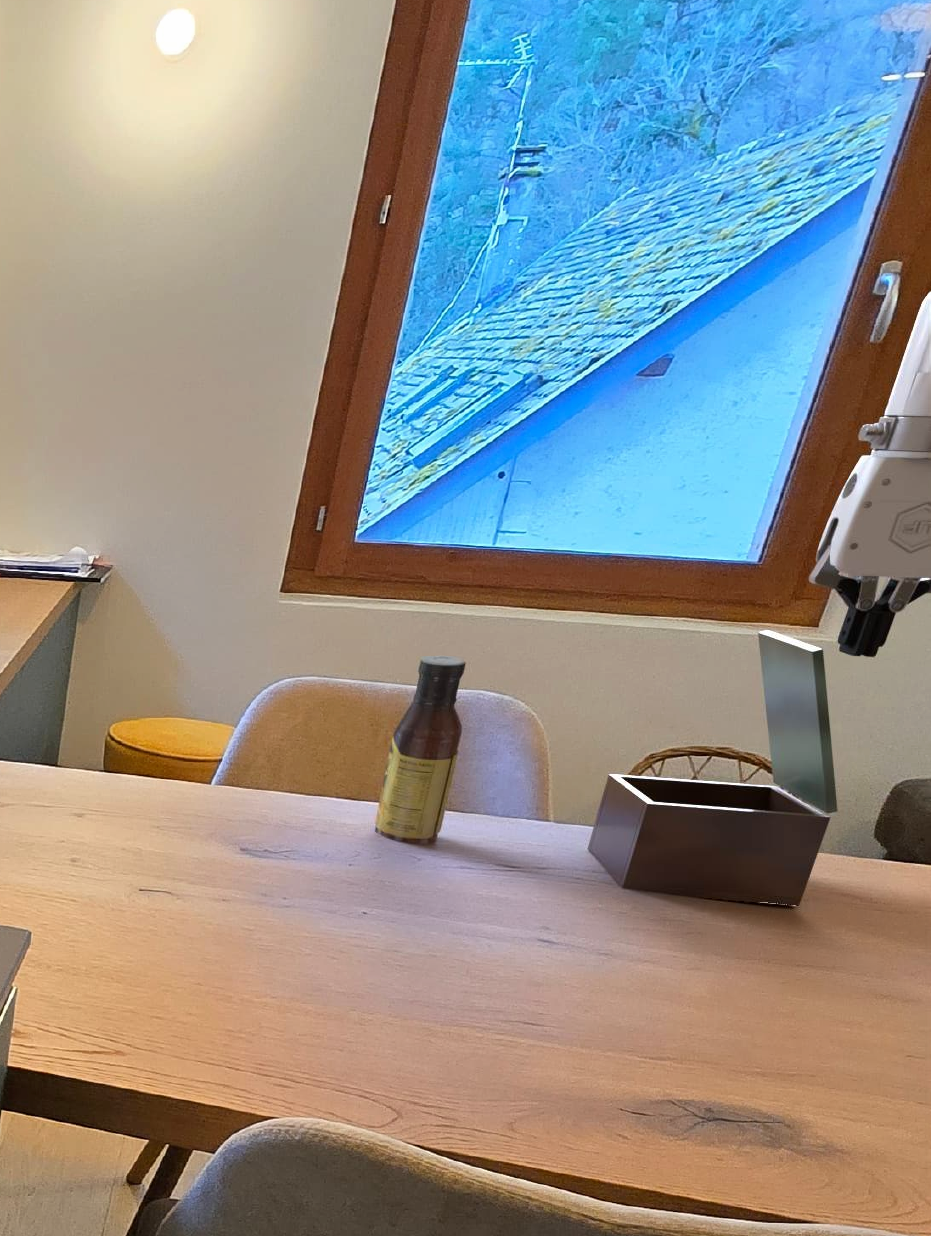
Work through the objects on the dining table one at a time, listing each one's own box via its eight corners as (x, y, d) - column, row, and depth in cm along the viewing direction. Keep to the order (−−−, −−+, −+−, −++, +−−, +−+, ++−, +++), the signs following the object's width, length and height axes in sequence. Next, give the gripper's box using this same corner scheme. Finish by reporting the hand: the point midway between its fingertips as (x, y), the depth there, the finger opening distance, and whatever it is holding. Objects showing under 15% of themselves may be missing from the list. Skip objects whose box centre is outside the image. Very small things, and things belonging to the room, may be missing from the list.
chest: (621, 890, 132) (647, 803, 128) (585, 855, 142) (608, 774, 138) (798, 907, 128) (830, 817, 124) (748, 869, 138) (776, 786, 134)
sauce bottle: (397, 829, 149) (439, 649, 140) (449, 847, 144) (496, 660, 135) (356, 839, 146) (396, 656, 138) (407, 857, 141) (453, 668, 133)
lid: (812, 651, 120) (823, 649, 120) (757, 632, 130) (767, 629, 130) (827, 813, 124) (837, 811, 124) (773, 782, 134) (783, 780, 134)
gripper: (849, 439, 115) (777, 655, 123) (1065, 443, 111) (978, 666, 118) (810, 437, 122) (744, 642, 129) (1012, 440, 118) (933, 652, 125)
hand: (856, 653), depth 124 cm, fingers closed
